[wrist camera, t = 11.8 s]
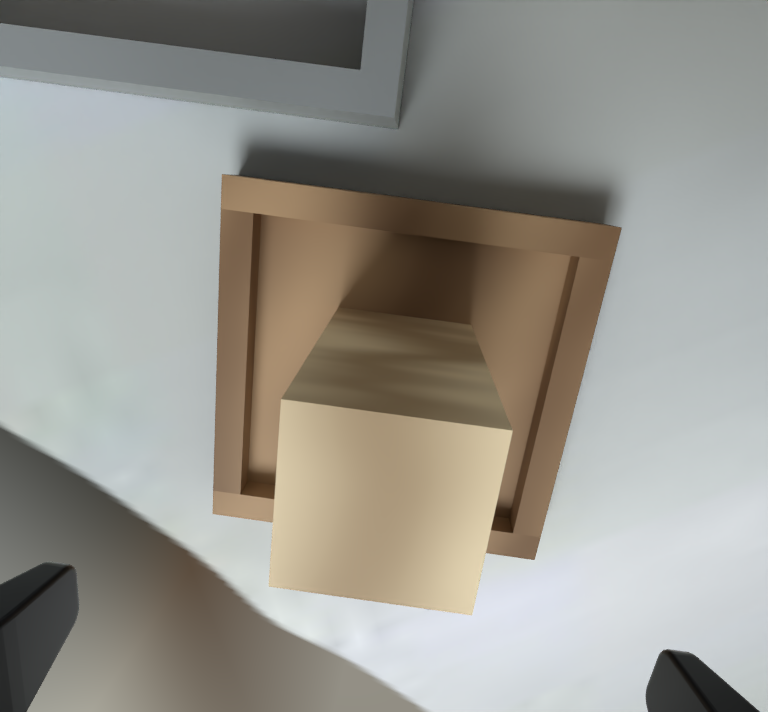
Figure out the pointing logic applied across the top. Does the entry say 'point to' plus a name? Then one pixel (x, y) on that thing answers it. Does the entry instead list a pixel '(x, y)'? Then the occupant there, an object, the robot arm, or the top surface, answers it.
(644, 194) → the top surface
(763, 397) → the top surface
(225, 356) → the walnut tray
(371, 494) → the maple block
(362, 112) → the slate bin
